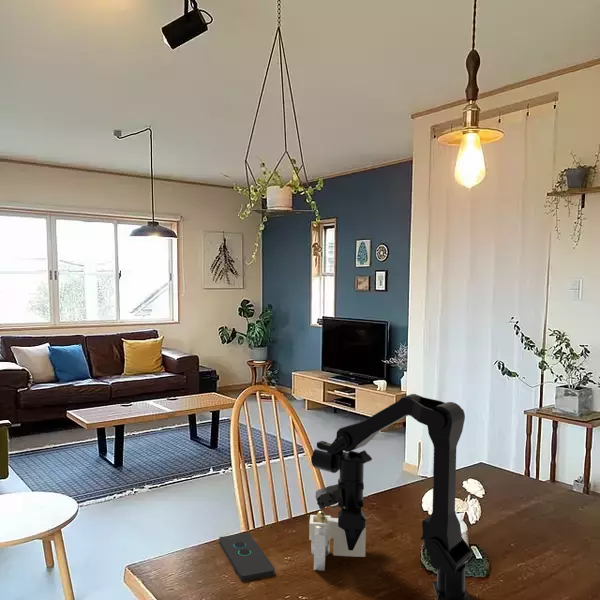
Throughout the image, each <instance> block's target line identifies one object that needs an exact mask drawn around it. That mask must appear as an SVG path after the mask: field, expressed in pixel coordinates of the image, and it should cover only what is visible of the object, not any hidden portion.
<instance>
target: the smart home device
mask: <svg viewBox="0 0 600 600" xmlns="http://www.w3.org/2000/svg"><path fill="white" fill-rule="evenodd" d="M218 538H219V540H218V541H219V542H218V543H219V546H220V547H221V549H222V551H223V553H224V554H225V556H226V558H227V559H228V561H229V563H230V565H231V566H232V568H233V571H234V572H235V573H236V575H237V577H238V578H239V580H240V581H241V582H247V581H250V580H251V579H252V580H257V579H261V578H265V577H266V578H267V577H270V576H271V577H272V576H275V572H276V571H275V570H276V569H275V567H274V565H273V563H272V562H271V561H270V560H269V558H268V557H267V556H266V554H265V553H264V552H263V550H262V548H261V547H260V545H259V544H258V543H257V542H256V540H255V539H254V537H253V536H252V535H251V533H250V532H244V533H243V532H242V533H236V534H230V535H225V536H219V537H218Z"/></svg>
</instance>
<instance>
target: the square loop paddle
mask: <svg viewBox="0 0 600 600" xmlns="http://www.w3.org/2000/svg"><path fill="white" fill-rule="evenodd" d="M315 526H326V541H330V542H331V540H333V551H332V552H333V553H332V554H333V555H332V556H339V557H357V558H358V557H360V558H365V557H366V546H367V545H366V544H367V543H366V540H367V538H366V536H367V533H366V530H367V527H366V528H364V529H363V531H362V533H361V535H360V537H359V539H358V541H357V543H356V545H355V547H354V549H353V550H348V545H347V540H346V535H345V531H344V530H343V529H342V528H340V527H338V517H337V518H336V517H332V516H331V515H326V514H325V523H321V522H317V514H310V516H309V529H308V530H309V531H308V532H309V534H308V535H309V536H308V541H311V540H314V534H315Z"/></svg>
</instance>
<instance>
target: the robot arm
mask: <svg viewBox="0 0 600 600" xmlns="http://www.w3.org/2000/svg"><path fill="white" fill-rule="evenodd" d="M408 416H410V417H411V418H413V419H414V420H415V421H417V422H418V423H420V424H423V425H425V426H426V427H427V432H428V436H429V438H430V440H431V443H432V446H433V466H432V467H433V468H432V469H433V471H432V472H433V475H432V512H431V514H430V515H428V516H427V517H425V518H424V519H423V520H422V523H421V527H422V535H421V538H420V539H421V541H423V546H424V549H425V551H426V552H427V553H428V556H429V559H430V563H431V567H432V568H433V569H435V570H436V574H437V575H436V581H435V580H434V581H433V582H432V586H433V590H434V591H435V595H436V597H437V600H470V596H469V593H468V592H467V589H466V563H467V562H468V561H470V560H471V557H472V556H473V551H472V550H473V549H471V547H470V546H469V545H468V543H467V542H466V541H465V540H464V538H463V536H462V535H463V534H462V530H461V529H462V528H461V523H460V521H459V518H458V516H457V513H456V486H457V485H456V482H457V481H456V480H457V479H456V478H457V471H456V470H457V446H458V444H459V441H460V439H461V436H462V434H463V430H464V425H465V420H466V419H465V418H466V414H465V411H464V409H463V408H462V407H461V406H460V405H459V404H458V403H456V402H453V401H447V402H444V401H442V400H437V399H434V398H433V399H432V398H428V397H425V396H421V395H418V394H416V393H410V394H408V395H405V396H401V398H399V400H396V401H395V402H394V403H392V404H390V405H388V406H387V407H385V408H384V409H382V410H380V411H378V412H376V413H375V414H373V415H372V416H369V417H368V418H366V419H363V420H362V421H359V422H356V423H353V424H349V425H346V426H342V427H340V428H339V429H338V430H337V431H336V437H335V439H334V440H333V442H331V443H329V442H327V441H325V440H320V441H317V442H316V447H315V448H314V450H313V452H312V455H311V457H310V462H311V466H312V467H313V468H314V469H318V470H322V471H325V472H329V473H332V474H336V473H338V472H339V479H337V484H333V485H329V486H326V487H322V488H319V489H317V490H316V491H315V500H316V502H317V503H316V504H317V506H318V507H319V509H320V510H324V509H326V508H327V507H331V506H333V505H337V507H338V508H340V509H339V511H338V513H337V514H338V515H337V518H338V527H340V528H342V529H343V530H344V531H345V535H346V540H347V545H348V550H353V549H354V547H355V545H356V543H357V541H358V539H359V537H360V535H361V533H362V531H363V529H364V528H366V529H367V520H366V519H367V518H366V513H365V512H364V511H363V510H362V508H364V489H365V488H364V487H365V485H364V484H365V483H364V467H365V466H364V465H365V464H367V463H369V462H371V461H372V460H373V458H372V456H370V454H369V453H368V452H367V451H366V450H362V451H360V452H358V451H354V450H357V449H360V448H363V447H364V446H366V445H367V444H368V443H369V442H370V441H372V440H373V439H374V438H375V437H376V435H377V434H379V432H381V431H383V430H384V429H387V428H389V427H390V426H392V425H394V424H395V423H398V422H399V421H401V420H403V419H404V418H406V417H408Z"/></svg>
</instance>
